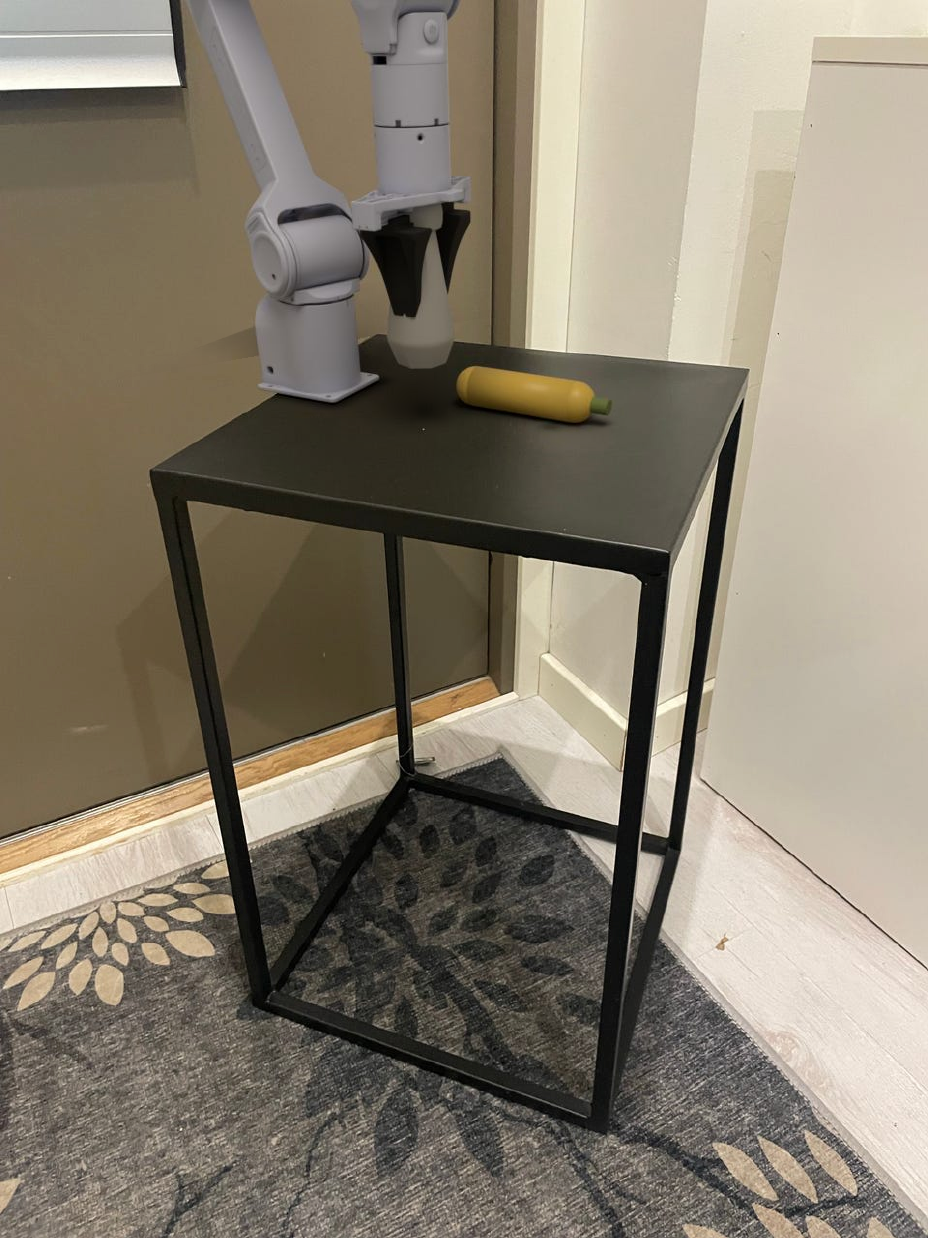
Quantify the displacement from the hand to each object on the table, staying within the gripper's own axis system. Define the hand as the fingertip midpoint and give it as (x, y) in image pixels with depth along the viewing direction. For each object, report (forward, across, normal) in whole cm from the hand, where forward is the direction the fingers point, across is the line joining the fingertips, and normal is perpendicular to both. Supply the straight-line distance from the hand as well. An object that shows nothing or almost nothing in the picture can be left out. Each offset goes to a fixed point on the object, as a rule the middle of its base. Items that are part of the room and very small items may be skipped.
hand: (420, 309), depth 77 cm
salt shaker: (+5, 0, 0) cm, 5 cm away
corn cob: (+10, +7, -6) cm, 14 cm away
